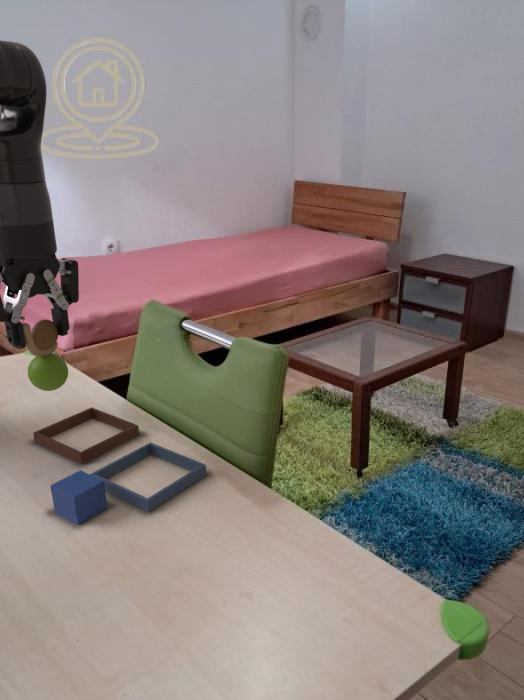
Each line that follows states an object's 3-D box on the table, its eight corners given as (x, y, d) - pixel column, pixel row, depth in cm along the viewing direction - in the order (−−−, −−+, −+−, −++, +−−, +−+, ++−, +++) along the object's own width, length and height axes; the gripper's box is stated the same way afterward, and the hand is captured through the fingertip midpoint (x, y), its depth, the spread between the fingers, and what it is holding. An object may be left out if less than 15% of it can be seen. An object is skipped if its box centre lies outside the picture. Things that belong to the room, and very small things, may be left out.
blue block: (55, 515, 88) (49, 485, 86) (84, 499, 92) (80, 469, 89) (78, 528, 85) (73, 497, 83) (108, 511, 89) (104, 480, 87)
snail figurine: (16, 395, 90) (3, 313, 85) (49, 379, 95) (38, 302, 90) (47, 402, 88) (35, 319, 83) (78, 385, 93) (68, 307, 88)
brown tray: (35, 445, 106) (32, 432, 104) (93, 419, 115) (91, 407, 113) (82, 467, 99) (80, 453, 98) (139, 438, 108) (138, 425, 107)
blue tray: (92, 488, 94) (89, 474, 93) (151, 455, 103) (150, 442, 102) (148, 516, 88) (147, 501, 87) (206, 478, 97) (206, 464, 96)
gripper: (51, 208, 88) (67, 323, 96) (-50, 221, 78) (-24, 349, 85) (86, 214, 85) (99, 333, 92) (-15, 228, 74) (9, 362, 81)
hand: (40, 340), depth 88 cm, fingers closed on snail figurine, 6 cm apart
